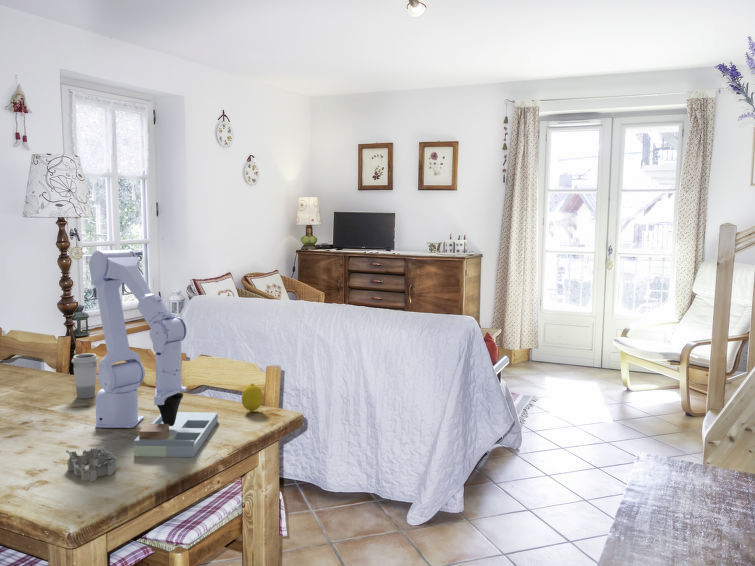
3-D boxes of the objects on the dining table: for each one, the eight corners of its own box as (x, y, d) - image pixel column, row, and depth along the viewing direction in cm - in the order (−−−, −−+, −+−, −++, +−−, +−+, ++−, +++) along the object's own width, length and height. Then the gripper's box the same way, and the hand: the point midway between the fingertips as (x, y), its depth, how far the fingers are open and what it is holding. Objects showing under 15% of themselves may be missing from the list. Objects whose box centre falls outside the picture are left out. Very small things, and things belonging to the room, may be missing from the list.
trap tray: (134, 456, 133) (133, 440, 132) (167, 420, 155) (166, 407, 155) (193, 456, 133) (193, 441, 133) (217, 421, 156) (217, 408, 155)
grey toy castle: (64, 468, 126) (63, 449, 126) (101, 458, 132) (100, 440, 131) (82, 484, 119) (81, 465, 118) (120, 474, 124) (120, 454, 124)
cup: (91, 391, 179) (90, 351, 178) (104, 395, 175) (103, 355, 174) (67, 396, 173) (66, 356, 172) (80, 401, 169) (78, 359, 168)
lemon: (257, 416, 161) (257, 387, 160) (238, 414, 162) (238, 385, 161) (265, 409, 166) (265, 381, 165) (246, 408, 167) (246, 380, 166)
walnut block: (139, 444, 133) (139, 431, 133) (147, 436, 138) (147, 423, 138) (162, 444, 133) (162, 431, 133) (169, 436, 138) (169, 423, 138)
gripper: (176, 377, 134) (176, 436, 136) (194, 362, 149) (194, 415, 150) (144, 377, 134) (145, 435, 136) (165, 361, 148) (166, 414, 150)
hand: (169, 425), depth 143 cm, fingers closed
